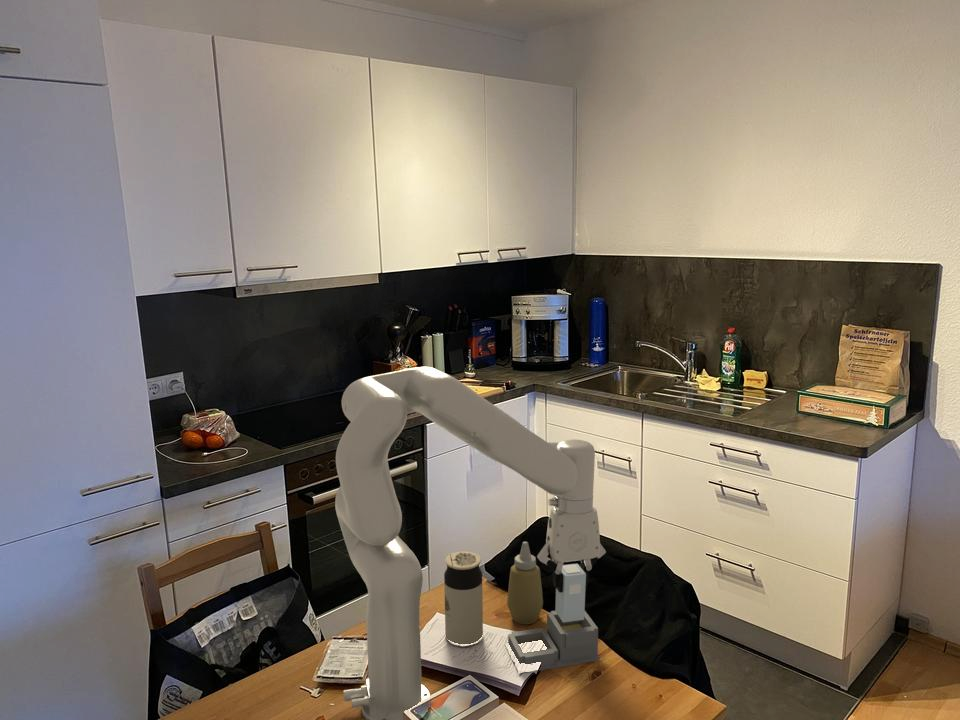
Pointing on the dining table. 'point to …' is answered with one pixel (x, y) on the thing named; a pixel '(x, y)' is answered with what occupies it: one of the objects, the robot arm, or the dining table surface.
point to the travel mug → (463, 598)
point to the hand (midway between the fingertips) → (570, 586)
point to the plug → (571, 594)
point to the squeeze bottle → (525, 588)
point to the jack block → (559, 642)
